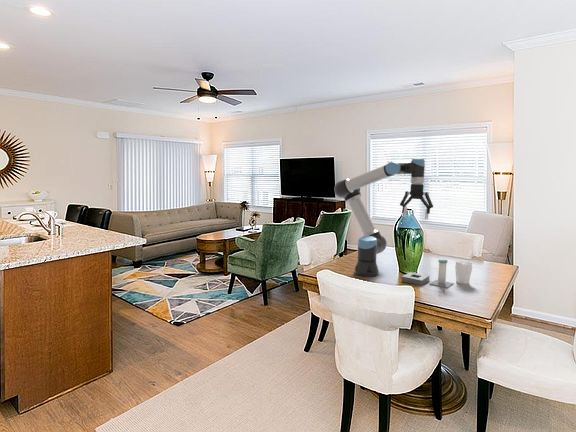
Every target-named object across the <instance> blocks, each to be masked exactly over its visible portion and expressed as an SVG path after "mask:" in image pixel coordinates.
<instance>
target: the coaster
mask: <svg viewBox="0 0 576 432" xmlns="http://www.w3.org/2000/svg"><path fill="white" fill-rule="evenodd" d="M429 285H431V286H433V287H434V286H435V287H439V288H444V289H448V288H450V287H451V286H453V285H454V282H450V281H445V284H438V279H435V280H433V281H432V282H430V283H429Z"/></svg>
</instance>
